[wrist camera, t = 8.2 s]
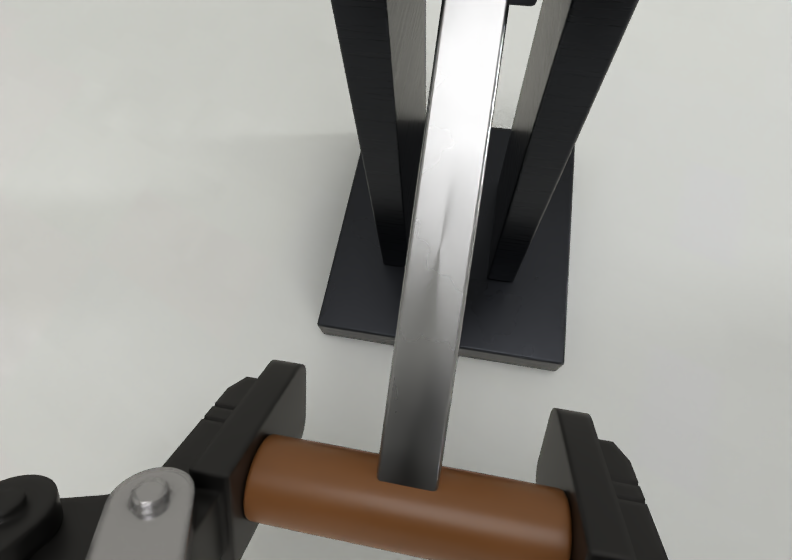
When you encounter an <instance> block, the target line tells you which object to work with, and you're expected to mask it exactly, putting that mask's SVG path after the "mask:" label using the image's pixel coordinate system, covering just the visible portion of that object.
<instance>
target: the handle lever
mask: <svg viewBox="0 0 792 560" xmlns="http://www.w3.org/2000/svg"><path fill="white" fill-rule="evenodd" d="M536 2H537V0H442V5H441V12H440V19H439V26H438V34H437V41H436V48H435V55H434V62H433V70H432V77H431V84H430V91H429V99H428V106H427V113H426V120H425V127H424V135H423V142H422V149H421V156H420V163H419V171H418V178H417V185H416V192H415V200H414V207H413V214H412V221H411V228H410V236H409V243H408V250H407V257H406V265H405V272H404V279H403V286H402V293H401V301H400V308H399V315H398V322H397V330H396V337H395V344H394V351H393V358H392V366H391V373H390V380H389V387H388V395H387V402H386V409H385V416H384V423H383V431H382V438H381V445H380V452H379V454H378V453H372V452H367V451H362V450H357V449H351V448H346V447H341V446H336V445H330V444H325V443H320V442H315V441H309V440H304V439H299V438H294V437H288V436H283V435H278V434H272V435H269V436H267V437H266V438H265V439H264V440H263V442H262V443H261V445H260V446H259V448H258V450H257V452H256V454H255V456H254V459H253V461H252V464H251V466H250V469H249V473H248V476H247V480H246V485H245V490H244V499H243V509H244V514H245V517H246V518H247V519H248V520H249V521H252V522H256V523H261V524H266V525H270V526H275V527H280V528H284V529H289V530H294V531H298V532H303V533H307V534H312V535H317V536H321V537H326V538H331V539H335V540H340V541H345V542H349V543H354V544H359V545H363V546H368V547H372V548H377V549H382V550H386V551H391V552H396V553H400V554H405V555H410V556H414V557H419V558H424V559H428V560H570V558H571V549H572V520H571V511H570V506H569V502H568V498H567V496H566V494H565V492H564V491H563V490H561V489H560V488H556V487H551V486H546V485H540V484H535V483H530V482H525V481H519V480H514V479H509V478H504V477H498V476H493V475H488V474H483V473H477V472H472V471H467V470H462V469H456V468H451V467H446V466H442V461H443V454H444V447H445V440H446V434H447V427H448V420H449V413H450V406H451V400H452V393H453V386H454V379H455V372H456V365H457V359H458V352H459V345H460V338H461V331H462V324H463V318H464V311H465V304H466V297H467V290H468V283H469V277H470V270H471V263H472V256H473V249H474V243H475V236H476V229H477V222H478V215H479V208H480V202H481V195H482V188H483V181H484V174H485V167H486V161H487V154H488V147H489V140H490V133H491V126H492V120H493V113H494V106H495V99H496V92H497V86H498V79H499V72H500V65H501V58H502V51H503V45H504V38H505V31H506V24H507V17H508V10H509V5H520V6H533V5H535V3H536Z"/></svg>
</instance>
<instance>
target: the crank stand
mask: <svg viewBox="0 0 792 560" xmlns="http://www.w3.org/2000/svg"><path fill="white" fill-rule="evenodd" d="M638 1H639V0H543V2H542V6H541V10H540V15H539V19H538V23H537V27H536V31H535V35H534V39H533V43H532V47H531V51H530V55H529V59H528V64H527V68H526V72H525V76H524V80H523V84H522V88H521V92H520V96H519V100H518V104H517V109H516V113H515V117H514V121H513V125H512V129H504V128H494V127H491V133H490V140H489V147H488V154H487V161H486V167H485V174H484V181H483V188H482V195H481V202H480V208H479V215H478V222H477V229H476V236H475V243H474V249H473V256H472V263H471V270H470V277H469V283H468V290H467V297H466V304H465V311H464V318H463V324H462V331H461V338H460V345H459V352H458V356H465V357H471V358H477V359H483V360H489V361H496V362H502V363H508V364H514V365H520V366H527V367H533V368H539V369H545V370H551V371H556V370H557V369H558V368H560V367H561V366H562V365H563V364H564V356H565V335H566V315H567V295H568V274H569V254H570V234H571V213H572V193H573V173H574V152H575V143H576V140H577V138H578V136H579V134H580V131H581V129H582V127H583V125H584V122H585V120H586V118H587V116H588V113H589V111H590V109H591V107H592V104H593V102H594V100H595V98H596V95H597V93H598V91H599V89H600V86H601V84H602V82H603V80H604V77H605V75H606V73H607V71H608V68H609V66H610V64H611V62H612V59H613V57H614V55H615V53H616V51H617V48H618V46H619V44H620V42H621V39H622V37H623V35H624V33H625V30H626V28H627V26H628V24H629V21H630V19H631V17H632V15H633V12H634V10H635V8H636V6H637V3H638ZM331 4H332V9H333V14H334V19H335V24H336V29H337V34H338V39H339V44H340V49H341V54H342V59H343V64H344V69H345V74H346V79H347V84H348V89H349V94H350V99H351V104H352V109H353V114H354V119H355V124H356V129H357V134H358V139H359V144H360V149H361V152H360V156H359V160H358V164H357V168H356V172H355V176H354V180H353V184H352V188H351V192H350V196H349V200H348V204H347V208H346V212H345V216H344V220H343V224H342V228H341V232H340V236H339V240H338V244H337V248H336V252H335V256H334V260H333V264H332V268H331V272H330V276H329V280H328V284H327V288H326V292H325V296H324V300H323V304H322V307H321V311H320V315H319V319H318V323H317V324H318V326H319V328H320V329H321V331H322V332H323V333H324V334H329V335H335V336H341V337H347V338H353V339H360V340H366V341H372V342H378V343H384V344H390V345H394V344H395V337H396V330H397V322H398V315H399V308H400V301H401V293H402V286H403V279H404V272H405V265H406V257H407V250H408V243H409V236H410V228H411V221H412V214H413V207H414V200H415V192H416V185H417V178H418V171H419V163H420V156H421V149H422V142H423V135H424V127H425V120H426V0H331Z"/></svg>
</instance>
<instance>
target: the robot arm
mask: <svg viewBox="0 0 792 560" xmlns="http://www.w3.org/2000/svg"><path fill="white" fill-rule="evenodd" d="M305 418H306V368H305V365H303V364H297V363H291V362H285V361H279V360H272V361H271V362H270V363H269V364H268V366H267V367H266V368H265V369H264V371H263V372H262V373H261V375H260V376H259V377H258V379H257V378H251V377H246V378H244V379H242V380H241V381H239V382H237V383H236V384H234V385H232V386H231V387H229V388H228V389H227V390H226V391H225V392H224V393H223V395H222V396H221V397H220V398H219V399H218V400H217V402H216V403H215V406H212V408H211V409H210V410H209V411H208V412H207V414H206V415H205V418H204V419H202V420H201V421H200V422H199V423H198V424H197V426H196V427H195V428H194V429H193V430H192V432H191V433H190V434H189V435H188V436H187V438H186V439H185V440H184V441H183V442H182V444H181V445H180V446H179V447H178V448H177V450H176V451H175V452H174V453H173V454H172V456H171V457H170V458H169V459H168V460H167V462H166V463H165V464H164V465H163V466H162V467H158V468H152V469H148V470H145V471H142V472H140V473H137V474H135V475H133V476H131V477H129V478H128V479H126V480H125V481H123V482H122V483H121V484H120V485H118V486H117V487H116V488H115V489H114V490H113V491H112V493H111V494H108V495H99V496H86V497H73V498H60V497H59V493H58V489H57V486H56V484H55V483H54V482H53V481H52V480H51V479H49V478H48V477H45V476H41V475H22V476H16V477H12V478H8V479H5V480H2V481H0V560H240V559H241V557H242V555H243V553H244V551H245V549H246V548H247V546H248V544H249V542H250V540H251V538H252V536H253V534H254V532H255V530H256V528H257V526H258V524H259V523H256V522H252V521H249V520H248V519H247V518H246V517H245V514H244V509H243V499H244V490H245V485H246V480H247V476H248V473H249V469H250V466H251V464H252V461H253V459H254V456H255V454H256V452H257V450H258V448H259V446H260V445H261V443H262V442H263V440H264V439H265V438H266V437H267V436H269V435H272V434H278V435H283V436H288V437H294V438H299V439H301V438H302V434H303V431H304V426H305ZM536 484H540V485H546V486H551V487H556V488H560V489H561V490H563V491H564V492H565V494H566V496H567V498H568V502H569V506H570V511H571V520H572V549H571V558H570V560H668V558H667V555H666V552H665V550H664V547H663V545H662V542H661V540H660V537H659V534H658V532H657V529H656V527H655V524H654V522H653V519H652V516H651V514H650V511H649V509H648V506H647V504H645V498H644V496H643V493H642V491H641V488H640V486H638V480H637V478H636V475H635V473H634V470H633V467H632V465H631V462H630V461H629V460H628V458H627V457H626V456H625V455H624V454H623V453H622V452H621V450H620V449H619V448H618V447H617V446H616V445H615V444H614V442H611V441H605V440H599V439H598V437H597V434H596V431H595V428H594V424H593V421H592V418H591V416H590V415H589V414H587V413H581V412H575V411H569V410H564V409H558V408H553V410H552V411H551V414H550V417H549V421H548V425H547V429H546V432H545V436H544V440H543V444H542V448H541V451H540V455H539V459H538V464H537V471H536Z"/></svg>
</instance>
